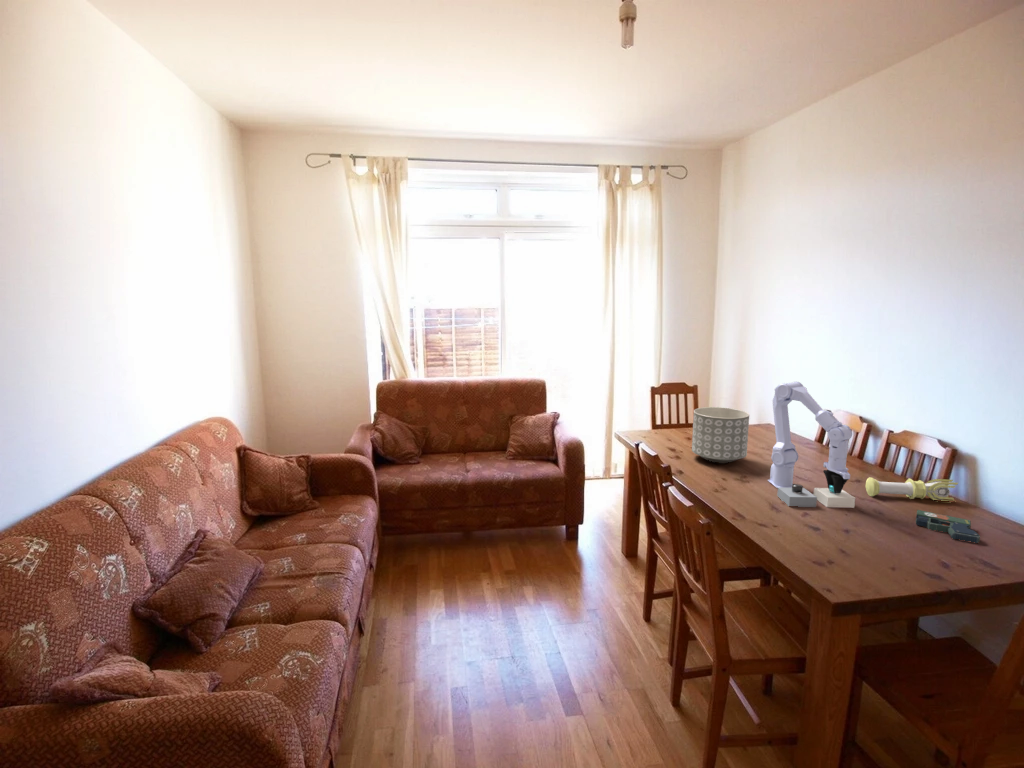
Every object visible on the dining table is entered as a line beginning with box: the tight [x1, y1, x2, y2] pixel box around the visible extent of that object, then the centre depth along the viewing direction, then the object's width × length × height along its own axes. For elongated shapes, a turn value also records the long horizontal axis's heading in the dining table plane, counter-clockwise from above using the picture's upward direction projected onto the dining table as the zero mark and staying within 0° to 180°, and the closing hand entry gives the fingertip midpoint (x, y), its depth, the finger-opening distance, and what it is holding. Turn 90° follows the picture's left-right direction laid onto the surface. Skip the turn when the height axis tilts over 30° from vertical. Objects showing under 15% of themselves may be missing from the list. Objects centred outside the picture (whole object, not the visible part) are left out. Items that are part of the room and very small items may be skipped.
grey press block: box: [776, 487, 818, 508], centre depth 200 cm, size 10×10×4 cm
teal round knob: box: [829, 484, 837, 494], centre depth 199 cm, size 4×4×6 cm
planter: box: [691, 406, 750, 464], centre depth 252 cm, size 25×25×24 cm
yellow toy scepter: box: [865, 477, 959, 501], centre depth 203 cm, size 8×8×30 cm
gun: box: [915, 509, 981, 544], centre depth 175 cm, size 3×16×15 cm
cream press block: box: [812, 487, 856, 509], centre depth 200 cm, size 10×10×4 cm
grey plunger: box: [792, 483, 804, 494], centre depth 200 cm, size 4×4×6 cm
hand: (834, 490), depth 199 cm, fingers closed on teal round knob, 3 cm apart
